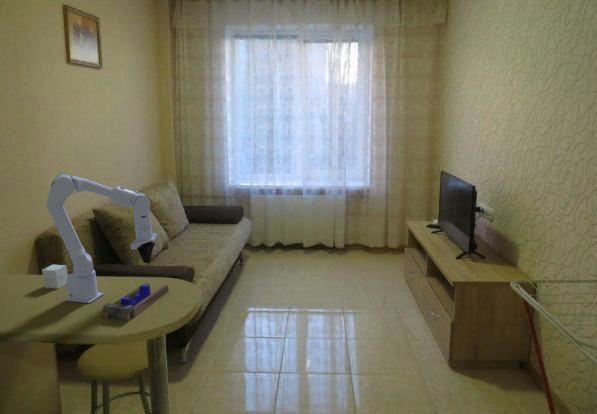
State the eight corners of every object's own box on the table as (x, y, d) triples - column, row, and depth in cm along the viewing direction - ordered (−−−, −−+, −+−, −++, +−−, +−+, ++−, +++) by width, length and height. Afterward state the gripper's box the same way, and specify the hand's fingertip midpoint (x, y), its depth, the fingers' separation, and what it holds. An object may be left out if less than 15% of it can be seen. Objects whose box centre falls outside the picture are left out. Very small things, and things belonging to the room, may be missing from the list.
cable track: (103, 318, 148) (101, 306, 147) (145, 289, 171) (144, 279, 170) (129, 321, 146) (127, 309, 145) (168, 291, 168) (167, 280, 168)
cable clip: (139, 300, 162) (138, 284, 160) (151, 301, 160) (149, 285, 159) (118, 315, 150) (116, 298, 149) (130, 317, 149) (128, 299, 148)
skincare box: (69, 283, 179) (66, 264, 178) (58, 289, 174) (55, 270, 172) (55, 282, 181) (53, 264, 179) (44, 288, 175) (41, 269, 173)
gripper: (141, 232, 161) (145, 269, 164) (163, 222, 174) (166, 256, 177) (123, 231, 163) (128, 268, 166) (147, 221, 176) (150, 255, 179)
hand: (146, 262), depth 172 cm, fingers closed
